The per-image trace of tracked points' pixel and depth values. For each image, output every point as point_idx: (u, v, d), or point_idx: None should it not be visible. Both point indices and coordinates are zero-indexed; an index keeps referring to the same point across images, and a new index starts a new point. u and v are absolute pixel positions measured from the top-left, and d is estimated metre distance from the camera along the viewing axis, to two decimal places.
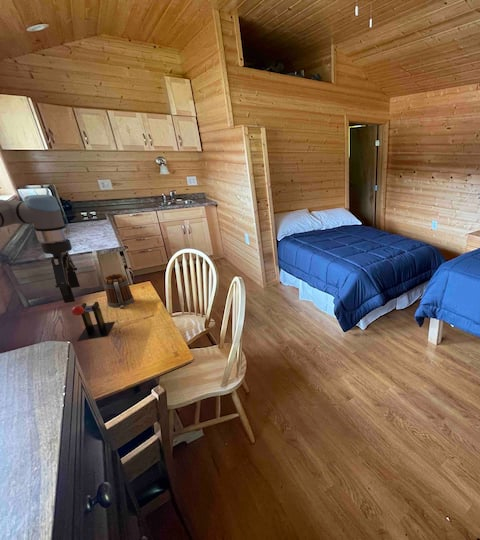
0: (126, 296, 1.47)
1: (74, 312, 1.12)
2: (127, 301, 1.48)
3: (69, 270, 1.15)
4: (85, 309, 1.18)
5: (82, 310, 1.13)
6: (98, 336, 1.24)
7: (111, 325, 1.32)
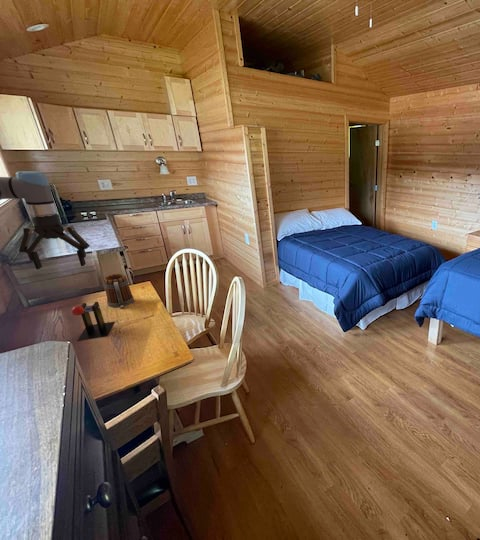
0: (126, 296, 1.47)
1: (74, 312, 1.12)
2: (127, 301, 1.48)
3: (31, 251, 1.15)
4: (85, 309, 1.18)
5: (82, 310, 1.13)
6: (98, 336, 1.24)
7: (111, 325, 1.32)
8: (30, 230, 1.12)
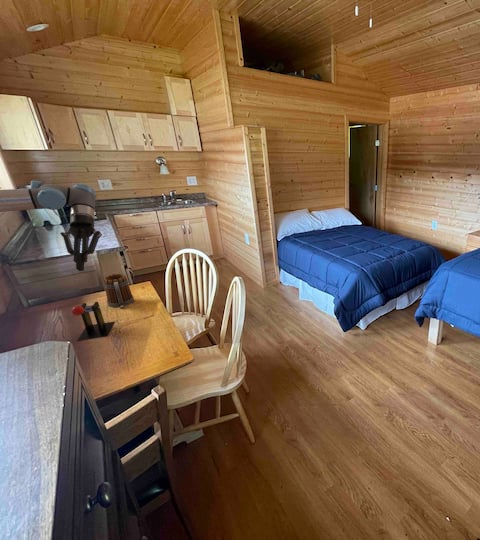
0: (126, 296, 1.47)
1: (74, 312, 1.12)
2: (127, 301, 1.48)
3: (78, 252, 1.21)
4: (85, 309, 1.18)
5: (82, 310, 1.13)
6: (98, 336, 1.24)
7: (111, 325, 1.32)
8: (66, 233, 1.21)
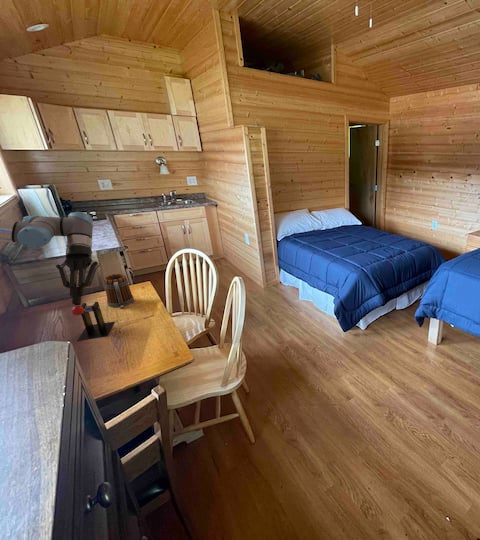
0: (126, 296, 1.47)
1: (74, 312, 1.12)
2: (127, 301, 1.48)
3: (74, 285, 1.14)
4: (85, 309, 1.18)
5: (82, 310, 1.13)
6: (98, 336, 1.24)
7: (111, 325, 1.32)
8: (62, 265, 1.15)
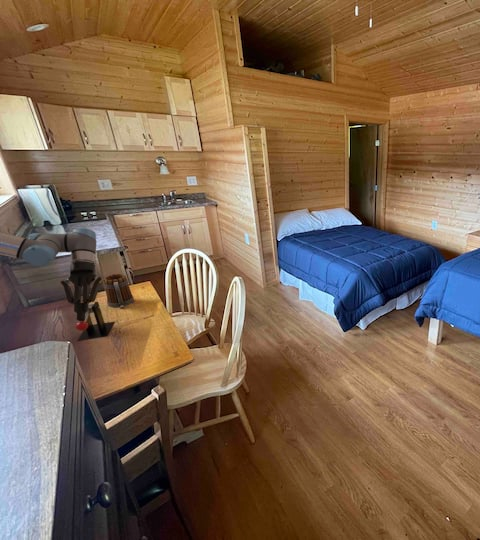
0: (126, 296, 1.47)
1: (79, 330, 1.14)
2: (127, 301, 1.48)
3: (78, 301, 1.16)
4: (87, 317, 1.19)
5: (86, 326, 1.15)
6: (98, 336, 1.24)
7: (111, 325, 1.32)
8: (66, 281, 1.17)
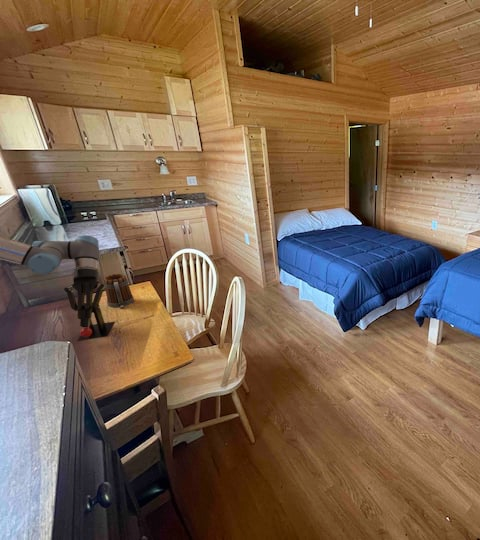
0: (126, 296, 1.47)
1: (84, 336, 1.17)
2: (127, 301, 1.48)
3: (82, 308, 1.19)
4: (89, 321, 1.20)
5: (90, 333, 1.18)
6: (98, 336, 1.24)
7: (111, 325, 1.32)
8: (70, 288, 1.19)
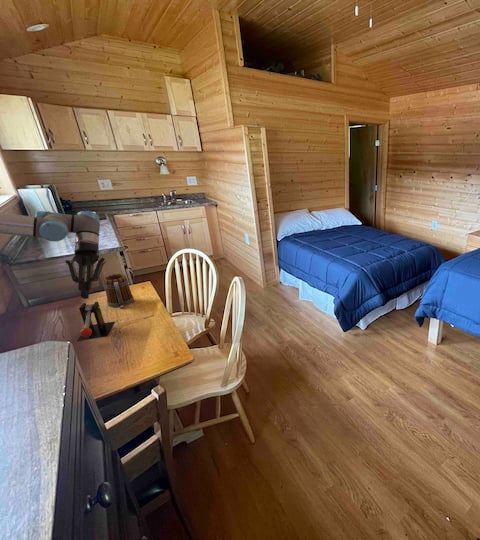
0: (126, 296, 1.47)
1: (84, 336, 1.17)
2: (127, 301, 1.48)
3: (82, 280, 1.22)
4: (89, 321, 1.20)
5: (90, 333, 1.18)
6: (98, 336, 1.24)
7: (111, 325, 1.32)
8: (71, 261, 1.23)
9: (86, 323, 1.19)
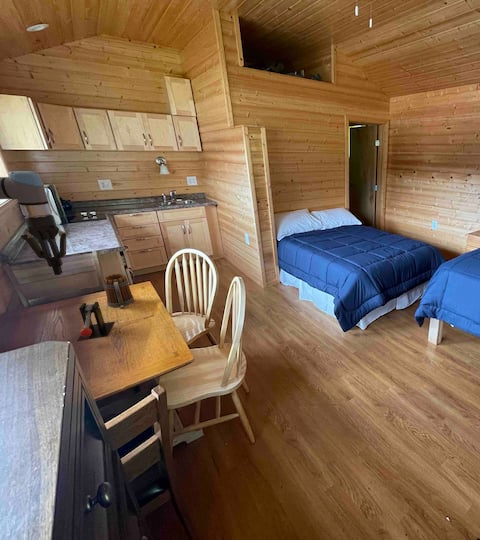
0: (126, 296, 1.47)
1: (84, 336, 1.17)
2: (127, 301, 1.48)
3: (50, 256, 1.16)
4: (89, 321, 1.20)
5: (90, 333, 1.18)
6: (98, 336, 1.24)
7: (111, 325, 1.32)
8: (27, 235, 1.11)
9: (86, 323, 1.19)
